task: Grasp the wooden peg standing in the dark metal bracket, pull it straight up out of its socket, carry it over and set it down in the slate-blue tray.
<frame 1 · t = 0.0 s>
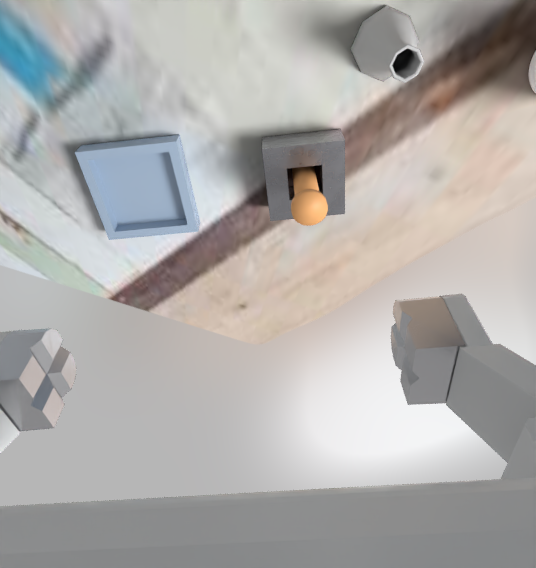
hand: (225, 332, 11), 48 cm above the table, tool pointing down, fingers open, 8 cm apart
flask: (383, 44, 50), on the table
tray: (144, 186, 60), on the table
bracket: (303, 170, 59), on the table
wooden peg: (306, 188, 54), in the bracket
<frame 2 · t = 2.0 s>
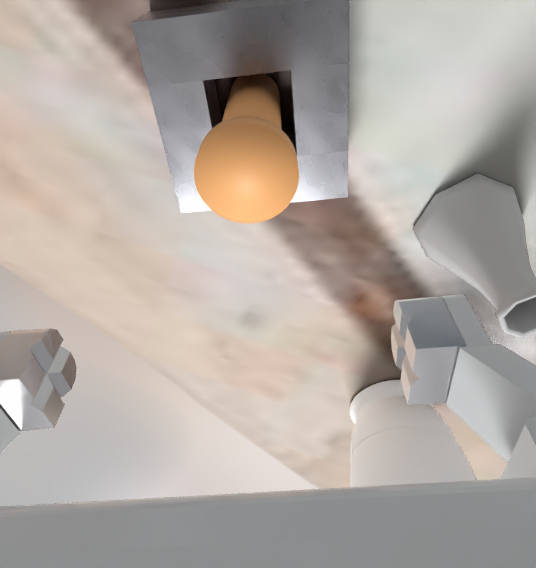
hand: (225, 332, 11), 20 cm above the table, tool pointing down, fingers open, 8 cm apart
flask: (465, 220, 31), on the table
bracket: (254, 98, 26), on the table
jar: (390, 402, 45), on the table
wooden peg: (251, 130, 22), in the bracket
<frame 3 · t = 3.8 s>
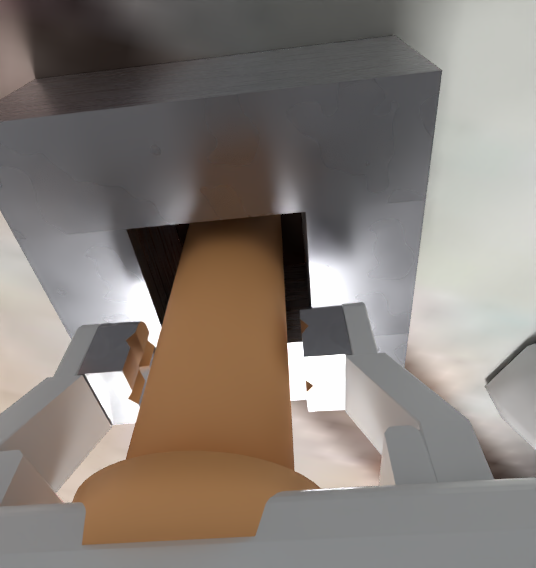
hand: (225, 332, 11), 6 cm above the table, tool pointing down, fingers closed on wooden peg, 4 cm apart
bracket: (237, 217, 15), on the table
wooden peg: (225, 329, 11), in the bracket, touching gripper
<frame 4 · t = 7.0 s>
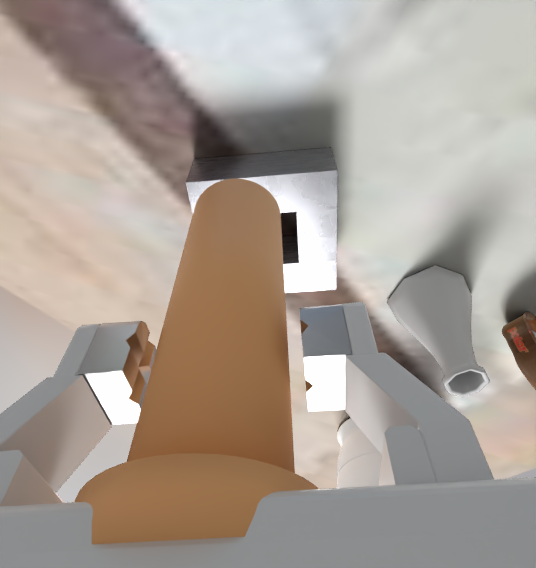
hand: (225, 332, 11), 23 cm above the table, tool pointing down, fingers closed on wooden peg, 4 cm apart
flask: (427, 295, 40), on the table
bracket: (267, 213, 35), on the table
jar: (370, 428, 54), on the table
wooden peg: (226, 330, 11), point 23 cm above the table, touching gripper
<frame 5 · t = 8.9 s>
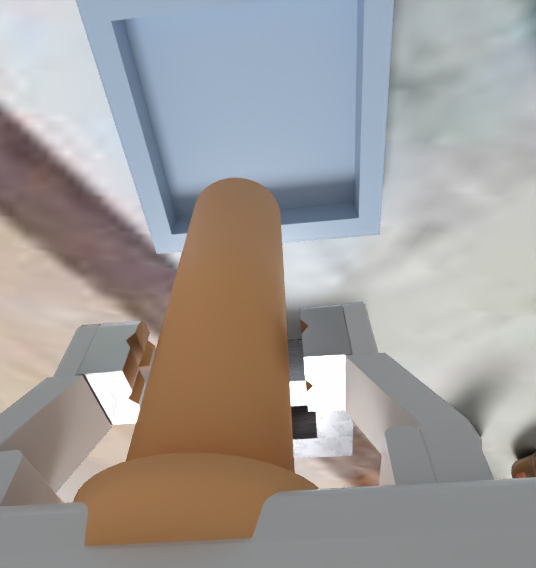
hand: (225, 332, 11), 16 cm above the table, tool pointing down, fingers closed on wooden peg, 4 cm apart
tray: (253, 117, 23), on the table
bracket: (286, 382, 37), on the table
wooden peg: (225, 330, 11), point 16 cm above the table, touching gripper
when the fingers open (7 cm above the table, at t = 10.5 s): wooden peg drops 1 cm, resting on tray.
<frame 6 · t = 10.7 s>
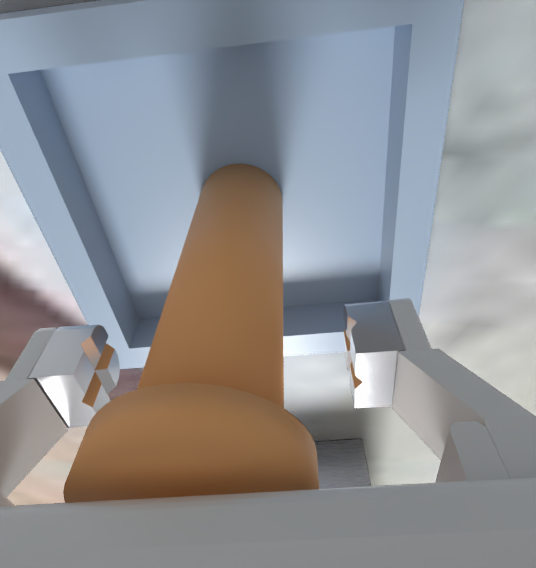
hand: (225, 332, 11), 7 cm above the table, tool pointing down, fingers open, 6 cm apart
tray: (239, 193, 16), on the table
bracket: (286, 484, 30), on the table
wooden peg: (226, 299, 12), in the tray, point 6 cm above the table
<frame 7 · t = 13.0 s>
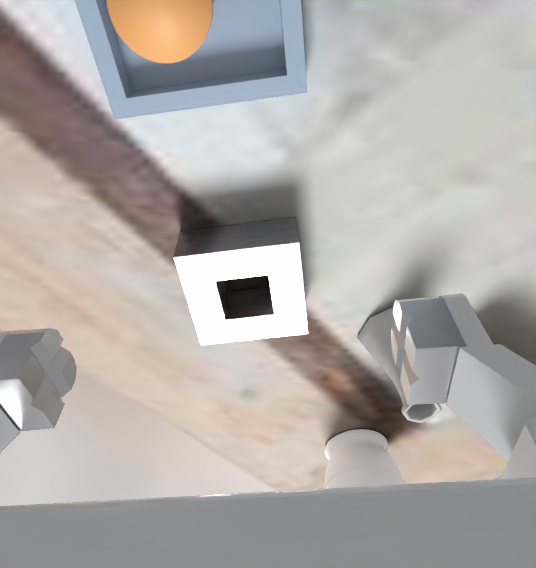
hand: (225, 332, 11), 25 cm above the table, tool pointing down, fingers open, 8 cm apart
flask: (392, 329, 46), on the table
bracket: (246, 270, 40), on the table
jar: (355, 444, 59), on the table
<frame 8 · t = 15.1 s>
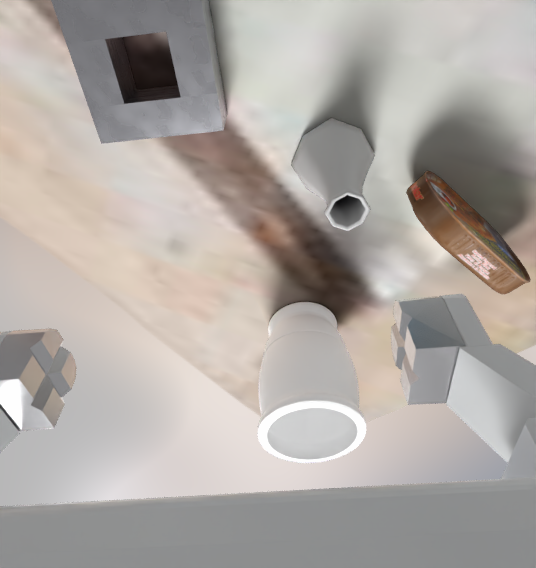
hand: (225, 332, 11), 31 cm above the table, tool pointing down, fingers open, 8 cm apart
tin: (452, 212, 44), on the table
flask: (332, 158, 40), on the table
bracket: (155, 57, 35), on the table
jar: (302, 325, 54), on the table
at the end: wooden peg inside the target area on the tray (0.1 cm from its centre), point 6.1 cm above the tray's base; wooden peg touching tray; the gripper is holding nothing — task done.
